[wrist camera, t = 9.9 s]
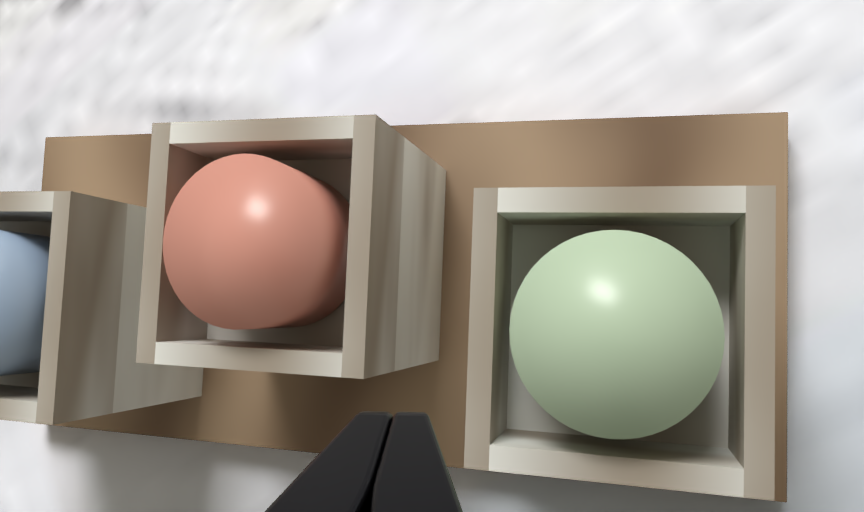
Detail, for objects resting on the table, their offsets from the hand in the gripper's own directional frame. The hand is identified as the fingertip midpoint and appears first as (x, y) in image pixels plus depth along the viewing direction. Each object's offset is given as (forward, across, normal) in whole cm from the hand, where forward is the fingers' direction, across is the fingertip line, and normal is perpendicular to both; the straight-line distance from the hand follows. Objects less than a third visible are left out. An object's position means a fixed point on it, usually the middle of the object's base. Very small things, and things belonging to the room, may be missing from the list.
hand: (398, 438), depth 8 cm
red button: (+8, +4, +2) cm, 10 cm away
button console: (+12, +3, +5) cm, 14 cm away
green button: (+6, -4, +3) cm, 8 cm away
